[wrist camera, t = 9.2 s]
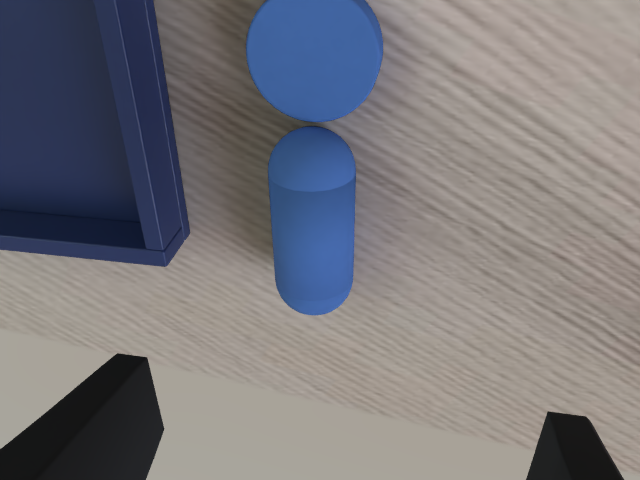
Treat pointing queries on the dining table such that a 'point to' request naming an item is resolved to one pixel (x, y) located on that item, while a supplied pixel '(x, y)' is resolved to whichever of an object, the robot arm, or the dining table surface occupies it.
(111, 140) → the blue tray
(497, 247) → the dining table surface
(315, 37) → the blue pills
